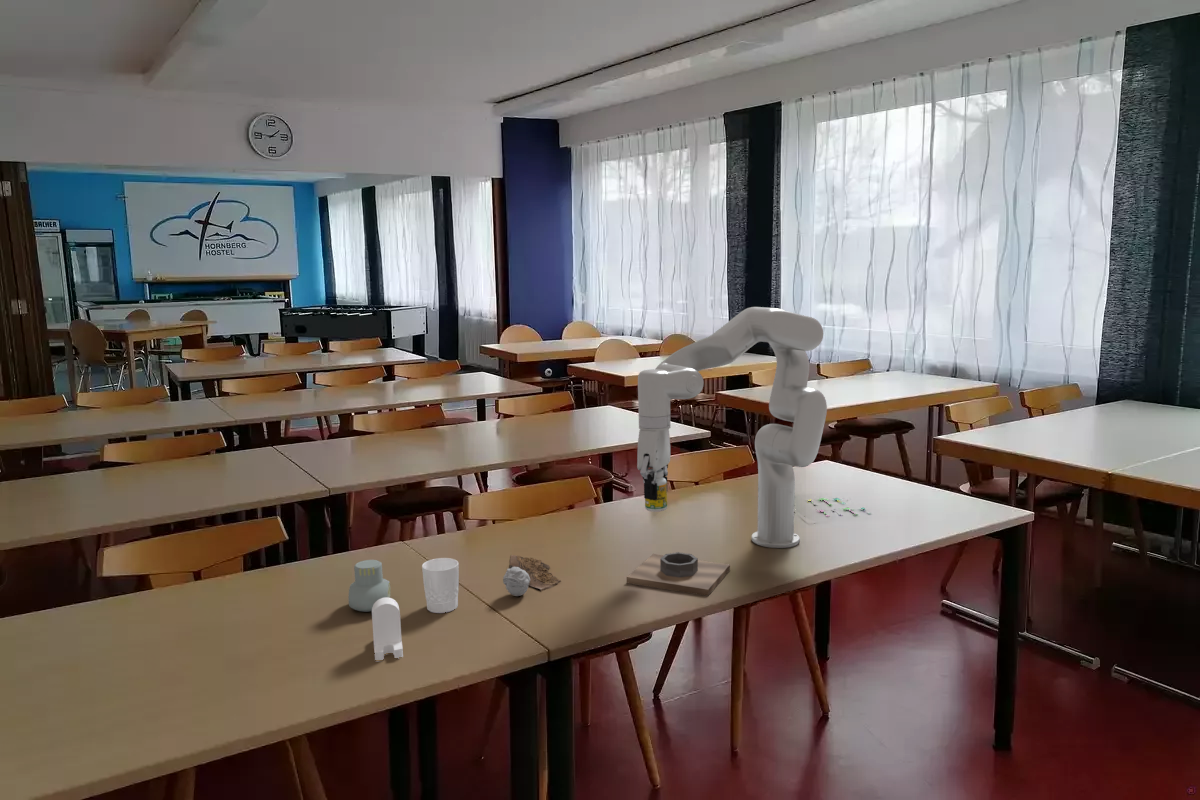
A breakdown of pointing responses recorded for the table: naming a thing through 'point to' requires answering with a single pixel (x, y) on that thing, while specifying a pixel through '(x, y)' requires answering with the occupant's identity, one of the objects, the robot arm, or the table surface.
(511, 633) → the table surface
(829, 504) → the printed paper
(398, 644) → the white phone stand
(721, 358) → the robot arm
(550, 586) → the wooden fragment
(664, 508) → the supplement bottle
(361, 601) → the air freshener
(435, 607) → the white cup
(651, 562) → the holder
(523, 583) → the crumpled paper ball
